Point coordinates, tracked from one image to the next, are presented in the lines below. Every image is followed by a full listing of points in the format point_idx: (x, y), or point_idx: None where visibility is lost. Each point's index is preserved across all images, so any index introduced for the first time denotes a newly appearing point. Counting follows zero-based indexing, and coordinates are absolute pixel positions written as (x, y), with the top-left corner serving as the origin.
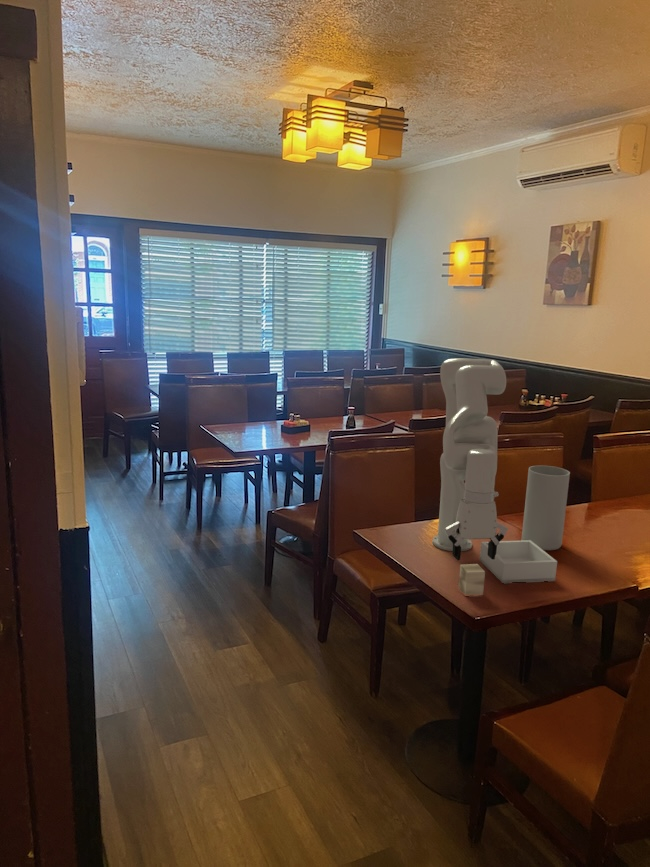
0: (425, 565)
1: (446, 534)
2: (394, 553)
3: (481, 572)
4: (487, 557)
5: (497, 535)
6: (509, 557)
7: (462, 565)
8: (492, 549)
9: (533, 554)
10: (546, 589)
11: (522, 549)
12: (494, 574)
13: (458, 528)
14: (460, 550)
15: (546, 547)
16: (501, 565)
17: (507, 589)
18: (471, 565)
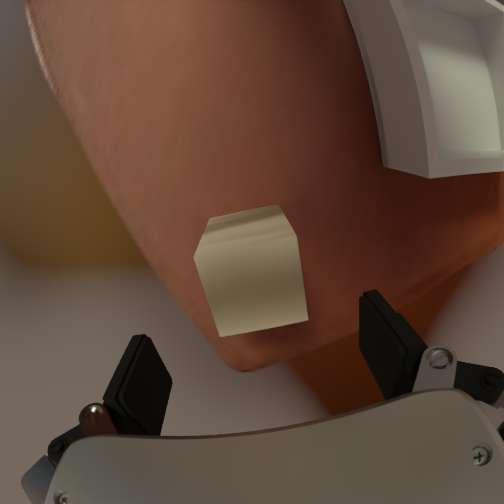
0: (113, 45)
1: (45, 462)
2: (47, 7)
3: (290, 322)
4: (372, 20)
5: (473, 393)
6: (433, 6)
7: (204, 267)
8: (379, 385)
9: (497, 46)
10: (473, 206)
11: (476, 10)
12: (374, 98)
13: (77, 471)
14: (160, 423)
15: (500, 2)
16: (416, 152)
17: (385, 211)
18: (255, 260)
